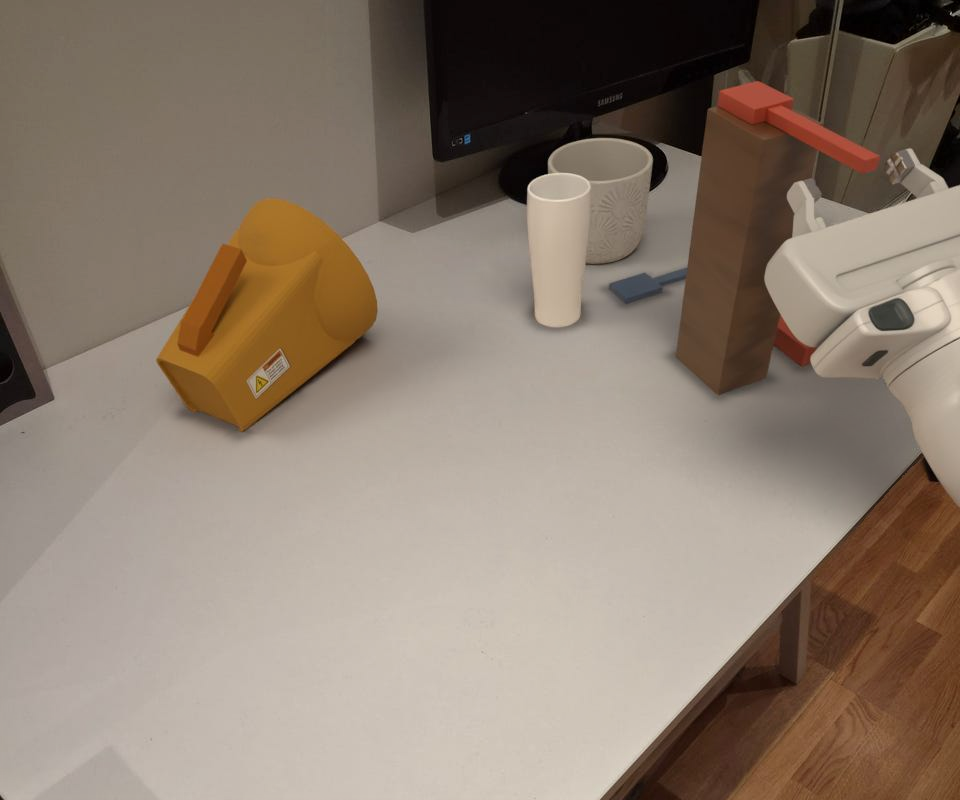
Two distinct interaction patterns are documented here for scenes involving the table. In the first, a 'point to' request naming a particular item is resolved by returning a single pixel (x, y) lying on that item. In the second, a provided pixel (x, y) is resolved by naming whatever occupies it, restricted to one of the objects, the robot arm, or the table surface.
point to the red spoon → (793, 123)
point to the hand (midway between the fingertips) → (847, 170)
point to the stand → (737, 247)
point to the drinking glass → (558, 245)
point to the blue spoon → (644, 285)
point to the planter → (610, 192)
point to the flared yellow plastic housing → (268, 315)
